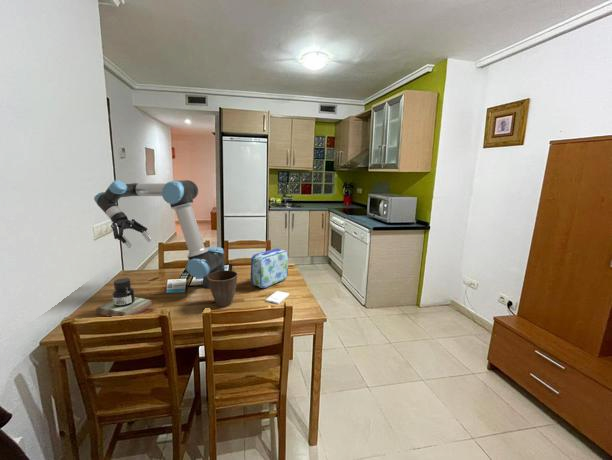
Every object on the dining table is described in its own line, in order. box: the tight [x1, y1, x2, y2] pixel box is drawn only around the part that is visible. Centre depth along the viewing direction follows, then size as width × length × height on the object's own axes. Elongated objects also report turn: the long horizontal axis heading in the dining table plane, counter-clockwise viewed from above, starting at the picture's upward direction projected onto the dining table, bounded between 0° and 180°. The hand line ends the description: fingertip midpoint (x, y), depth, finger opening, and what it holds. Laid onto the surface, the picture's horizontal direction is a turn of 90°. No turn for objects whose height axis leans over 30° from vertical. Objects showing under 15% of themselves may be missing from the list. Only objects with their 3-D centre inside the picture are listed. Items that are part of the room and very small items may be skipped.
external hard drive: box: [264, 290, 290, 305], centre depth 158 cm, size 2×8×12 cm
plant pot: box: [207, 269, 238, 308], centre depth 149 cm, size 15×15×16 cm
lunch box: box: [250, 248, 289, 289], centre depth 177 cm, size 26×11×21 cm, turn 143°
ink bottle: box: [112, 277, 136, 307], centre depth 141 cm, size 10×9×12 cm
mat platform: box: [96, 296, 153, 317], centre depth 143 cm, size 18×15×4 cm
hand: (140, 243), depth 162 cm, fingers open, 13 cm apart
